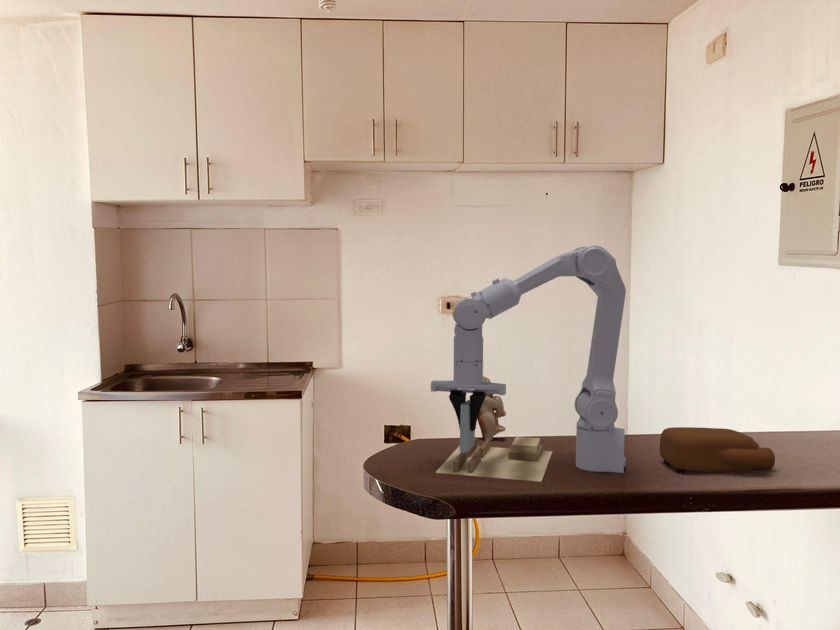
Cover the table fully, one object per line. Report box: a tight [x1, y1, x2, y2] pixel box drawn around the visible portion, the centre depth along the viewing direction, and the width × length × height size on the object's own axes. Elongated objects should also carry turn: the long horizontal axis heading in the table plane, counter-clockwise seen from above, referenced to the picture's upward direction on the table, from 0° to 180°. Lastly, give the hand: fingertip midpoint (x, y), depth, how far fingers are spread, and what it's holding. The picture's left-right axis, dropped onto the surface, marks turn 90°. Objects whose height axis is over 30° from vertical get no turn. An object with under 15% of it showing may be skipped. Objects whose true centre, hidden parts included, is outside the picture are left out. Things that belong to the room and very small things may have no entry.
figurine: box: [477, 375, 507, 441], centre depth 163 cm, size 6×8×15 cm
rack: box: [435, 436, 553, 487], centre depth 144 cm, size 20×22×3 cm
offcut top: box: [510, 436, 541, 454], centre depth 148 cm, size 5×7×2 cm
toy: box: [659, 426, 776, 474], centre depth 144 cm, size 15×8×20 cm
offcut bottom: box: [508, 444, 543, 462], centre depth 148 cm, size 6×8×2 cm
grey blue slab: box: [459, 399, 476, 452], centre depth 140 cm, size 2×7×9 cm, turn 164°
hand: (467, 429), depth 140 cm, fingers closed on grey blue slab, 1 cm apart
